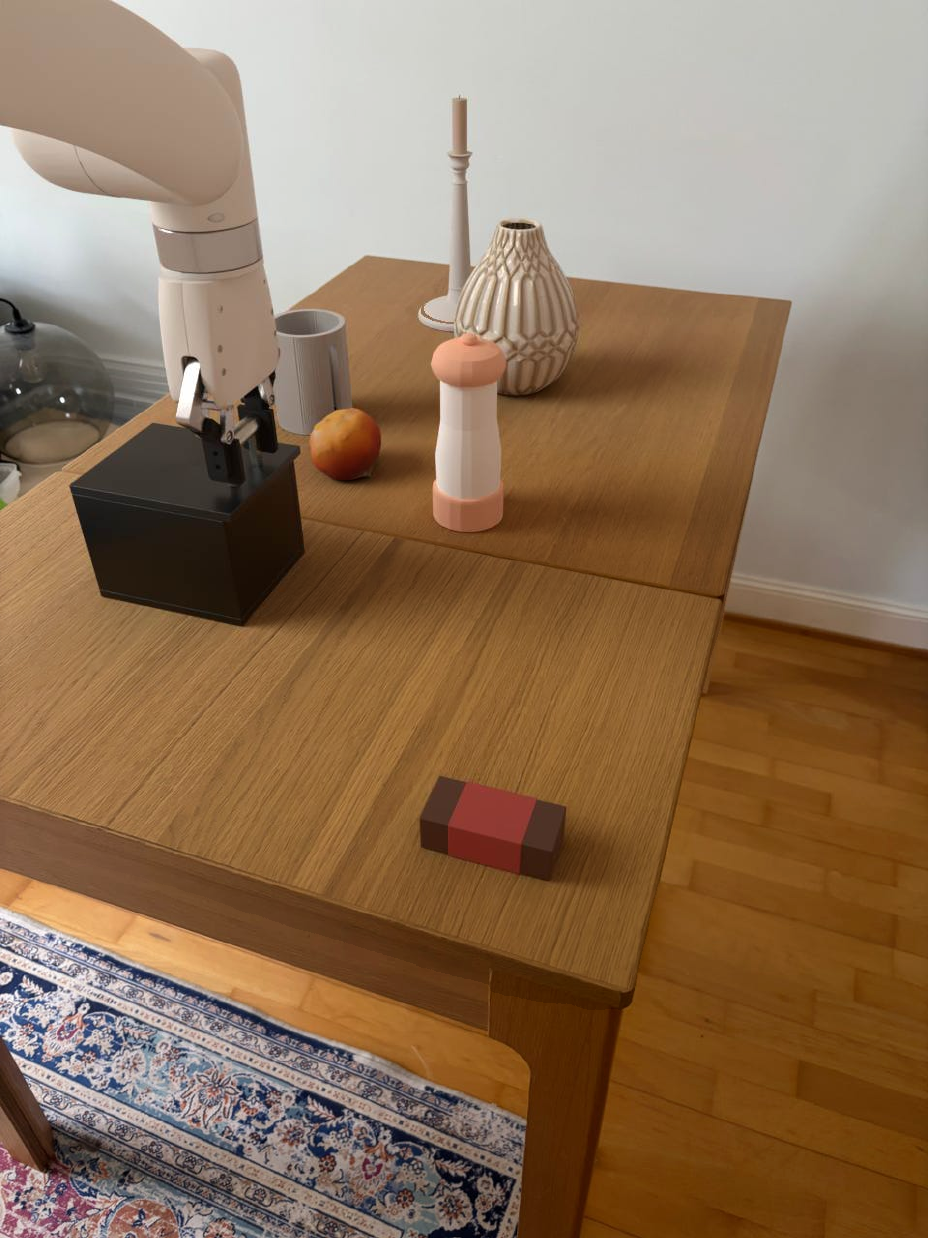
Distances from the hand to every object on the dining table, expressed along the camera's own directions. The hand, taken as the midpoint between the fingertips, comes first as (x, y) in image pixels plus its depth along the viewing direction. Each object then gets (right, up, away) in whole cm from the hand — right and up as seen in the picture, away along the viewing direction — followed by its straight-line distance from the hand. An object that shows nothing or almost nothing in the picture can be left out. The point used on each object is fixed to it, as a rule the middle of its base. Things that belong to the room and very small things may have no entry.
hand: (244, 463), depth 80 cm
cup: (0, +11, +36) cm, 38 cm away
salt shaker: (+19, -3, +18) cm, 26 cm away
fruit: (+6, +3, +26) cm, 26 cm away
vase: (+25, +18, +45) cm, 54 cm away
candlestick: (+18, +33, +64) cm, 74 cm away
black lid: (-5, 0, +3) cm, 6 cm away
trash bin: (-6, -9, +9) cm, 14 cm away
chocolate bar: (+21, -28, -16) cm, 39 cm away
